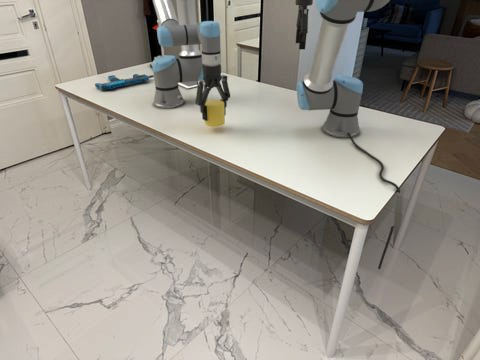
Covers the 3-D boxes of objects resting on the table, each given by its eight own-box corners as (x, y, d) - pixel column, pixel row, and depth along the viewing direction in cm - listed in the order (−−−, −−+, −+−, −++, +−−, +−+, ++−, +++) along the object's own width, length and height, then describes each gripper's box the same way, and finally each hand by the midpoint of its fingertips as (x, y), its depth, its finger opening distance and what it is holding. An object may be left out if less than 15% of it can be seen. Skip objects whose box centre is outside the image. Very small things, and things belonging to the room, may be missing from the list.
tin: (228, 124, 147) (227, 104, 143) (209, 128, 144) (208, 108, 139) (219, 117, 154) (219, 98, 149) (201, 121, 151) (200, 101, 146)
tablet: (160, 77, 218) (160, 76, 218) (186, 71, 229) (186, 70, 229) (187, 89, 198) (187, 88, 198) (215, 82, 209) (215, 81, 209)
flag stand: (171, 62, 250) (166, 17, 233) (175, 66, 239) (170, 20, 223) (153, 63, 246) (147, 18, 229) (157, 68, 235) (150, 21, 219)
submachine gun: (139, 68, 225) (158, 74, 208) (140, 74, 226) (158, 80, 210) (87, 78, 206) (103, 86, 189) (89, 84, 208) (104, 92, 191)
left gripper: (193, 70, 127) (197, 126, 140) (238, 61, 139) (239, 113, 151) (183, 66, 132) (188, 120, 145) (227, 58, 144) (228, 108, 156)
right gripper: (293, -8, 159) (289, 40, 170) (299, -3, 138) (295, 52, 149) (309, -8, 158) (304, 40, 170) (318, -3, 137) (312, 52, 149)
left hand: (214, 117), depth 148 cm, fingers closed on tin, 9 cm apart
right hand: (300, 46), depth 160 cm, fingers open, 13 cm apart
